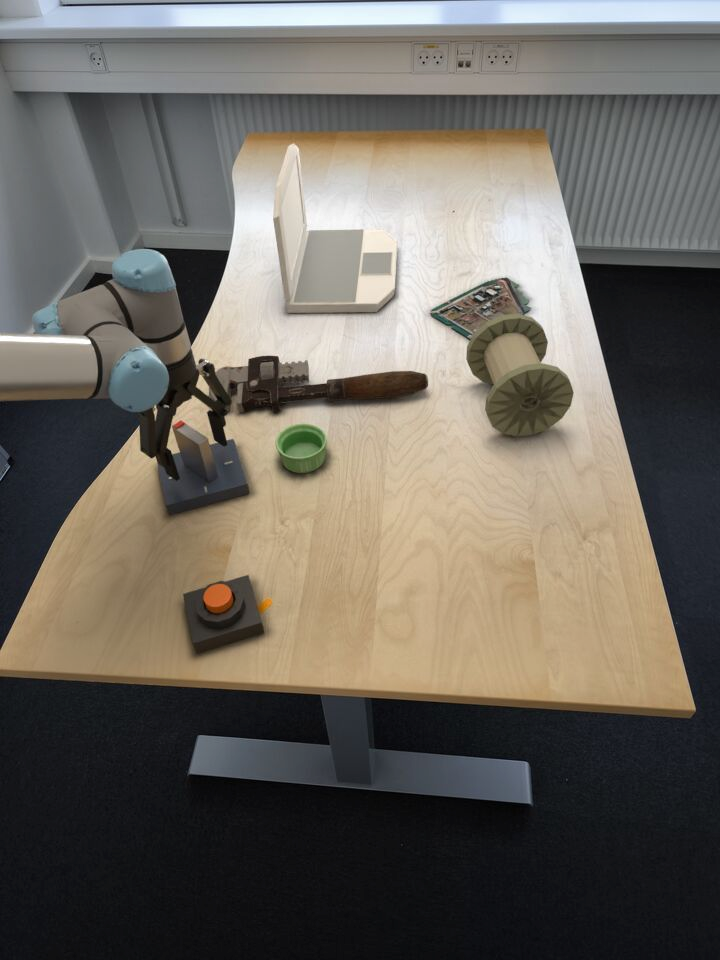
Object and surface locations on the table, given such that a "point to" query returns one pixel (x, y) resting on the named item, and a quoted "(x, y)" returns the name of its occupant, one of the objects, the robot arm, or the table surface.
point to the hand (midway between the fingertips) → (197, 458)
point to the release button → (218, 598)
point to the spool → (518, 375)
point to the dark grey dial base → (204, 481)
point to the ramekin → (302, 447)
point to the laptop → (328, 255)
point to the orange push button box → (223, 616)
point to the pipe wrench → (268, 374)
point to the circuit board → (481, 306)
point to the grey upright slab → (195, 451)
